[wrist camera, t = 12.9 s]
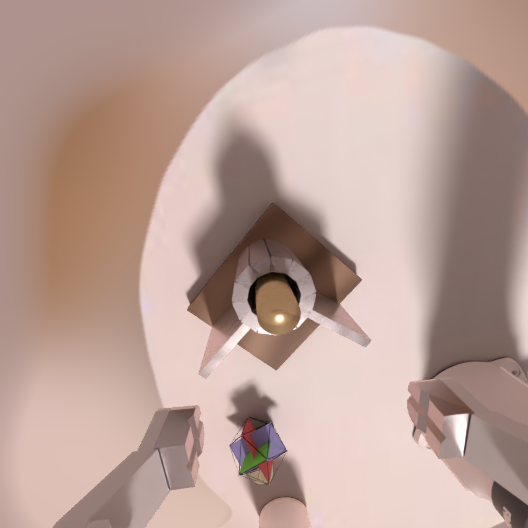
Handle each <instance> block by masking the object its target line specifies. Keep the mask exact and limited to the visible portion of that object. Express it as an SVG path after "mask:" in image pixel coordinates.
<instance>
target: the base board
mask: <svg viewBox="0 0 528 528" xmlns="http://www.w3.org/2000/svg"><path fill="white" fill-rule="evenodd" d="M262 238H263V239H264V238H268V239H274V240H279V241H281V242H282V243H283V244H284V245H285V246H287V247H288V248H289V249H290V250H291V251H292V252H293V253H294V255H295V256H296V257H297V258H298V260H299V261H300V262H301V263H302V264H303V266H304V267H305V268H306V269H307V271H308V272H309V273H310V275H311V278H312V281H313V284H314V287H315V290H317V291H319V292H321V293H323V294H325V295H327V296H328V297H330V298H332V299H334V300H336V301H338V303H339V304H340V303H341V302H342V301H343V299H344V298H345V297H346V296H347V295H348V294H349V293H350V292H351V291H352V290H353V289H354V288H355V287H356V286H357V285H358V284H359V283H360V282H361V280H362V279H361V278H360V277H359V276H357V275H356V274H355V273H354V272H353V271H352V270H350V269H349V268H348V267H347V266H346V265H345V264H343V263H342V262H341V261H340V260H339V259H338V258H337V257H335V256H334V255H333V254H332V253H331V252H330V251H328V250H327V249H326V248H325V247H324V246H323V245H322V244H320V243H319V242H318V241H317V240H316V239H315V238H313V237H312V236H311V235H310V234H309V233H308V232H307V231H305V230H304V229H303V228H302V227H301V226H300V225H298V224H297V223H296V222H295V221H294V220H293V219H291V218H290V217H289V216H288V215H287V214H286V213H285V212H283V211H282V210H281V209H280V208H279V207H278V206H276V205H275V204H274V203H272V204H271V205H270V206H269V208H268V209H267V210H266V211H265V213H264V214H263V215H262V216H261V218H260V219H259V220H258V221H257V222H256V224H255V225H254V226H253V227H252V229H251V230H250V231H249V232H248V234H247V235H246V236H245V237H244V239H243V240H242V241H241V242H240V243H239V245H238V246H237V247H236V248H235V250H234V251H233V252H232V253H231V255H230V256H229V257H228V258H227V260H226V261H225V262H224V263H223V264H222V266H221V267H220V268H219V269H218V271H217V272H216V273H215V274H214V276H213V277H212V278H211V279H210V281H209V282H208V283H207V284H206V285H205V287H204V288H203V289H202V290H201V292H200V293H199V294H198V295H197V297H196V298H195V299H194V300H193V302H192V303H191V304H190V305H189V307H188V309H187V310H188V311H189V312H191V313H192V314H194V315H195V316H197V317H198V318H199V319H201V320H202V321H204V322H205V323H207V324H208V325H210V326H211V327H212V326H213V324H214V323H215V322H216V321H217V320H218V319H219V317H220V316H221V315H222V314H223V313H224V311H225V310H226V309H227V308H228V307H229V306H230V304H231V303H232V296H233V289H234V282H235V277H236V271H237V265H238V260H239V256H240V254H241V253H242V251H243V250H244V249H245V248H246V247H247V245H248V244H249V245H250V243H251V242H254V241H257V240H259V239H262ZM319 325H320V324H319V323H317V322H315V321H313V320H311V319H309V318H307V319H306V320H305V321H304V322H303V323H302V324H301V325H300V326H299V327H297V326H296V328H297V329H294V330H292V331H290V332H288V333H286V334H282V335H270V334H262V333H258V331H257V332H255V331H253V330H252V329H250V330H249V331H248V332H247V333H246V334H245V335H244V336H243V337H242V339H241V340H240V341H239V342H238V343H237V344H238V345H239V346H241V347H242V348H244V349H245V350H247V351H248V352H250V353H251V354H253V355H254V356H256V357H257V358H259V359H260V360H261V361H263V362H264V363H266V364H267V365H269V366H270V367H272V368H273V369H275V370H277V369H278V368H279V367H280V366H281V365H282V364H283V363H284V362H285V361H286V360H287V359H288V358H289V356H290V355H291V354H292V353H293V352H294V351H295V350H296V349H297V348H298V347H299V346H300V345H301V344H302V343H303V342H304V341H305V340H306V339H307V337H308V336H309V335H310V334H311V333H312V332H313V331H314V330H315V329H316V328H317V327H318V326H319Z"/></svg>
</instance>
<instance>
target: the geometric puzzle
mask: <svg viewBox="0 0 528 528" xmlns="http://www.w3.org/2000/svg"><path fill="white" fill-rule="evenodd" d="M249 418H251V417H249V416H248V418H247V419H246V420H247V421H246V423H245V422H244V423H245V426H244V429H243V432H242V434H241V436H240V437H242V439H240V440H239V441H237V442H235V441H236V440H237V439H238V438H239V437H238V438H237V439H236V440H235V441H234V442H235V443H234V442H233V441H232V442H233V443H232V444H230V445H229V446H230V447H231V449H232V451H233V453H234V455H235V456H236V458H237V460H238V462H239V473H240V474H239V473H238V474H239V476H240V475H244V474H243V473H245V475H247V476H248V477H249V479H251V480H252V481H253V482H254V483H255V484H256V485H270V482H271V480H272V478H273V460H274V459H275V457H276V458H277V457H278V456H280V455H282V454H283V453H285V452H287V450H286V448H285V446H284V444H283V443H282V441H281V440H280V437H279V435H277V434H278V433H276V432H277V431H275V429H274V425H272V424H271V422H270V423H266V424H265V425H263V427H262V426H261V428H260V427H258V428H260V429H258V428H256V429H258V430H256V429H255V428H254V426H253V424H252V423H251V421H250V419H249ZM252 419H253V418H252ZM254 419H255V418H254ZM255 420H256V419H255ZM258 421H259V419H258ZM262 421H263V420H262ZM262 421H260V422H262ZM266 422H267V421H266ZM263 423H264V422H263ZM242 426H243V425H242ZM239 431H240V430H239ZM237 434H238V433H237ZM235 437H236V436H235ZM232 451H231V452H232ZM285 454H286V453H285ZM232 455H233V454H232ZM284 456H285V455H284ZM233 458H234V457H233ZM273 458H274V459H273ZM283 458H284V457H283ZM282 460H283V459H282ZM234 461H235V460H234ZM240 465H241V470H240ZM257 468H260V470H257V471H254V472H251V471H253V470H255V469H257ZM237 471H238V470H237ZM276 471H277V470H276ZM249 472H250V473H249ZM275 473H276V472H275ZM274 475H275V474H274ZM243 477H244V476H243ZM246 478H247V477H246Z"/></svg>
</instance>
